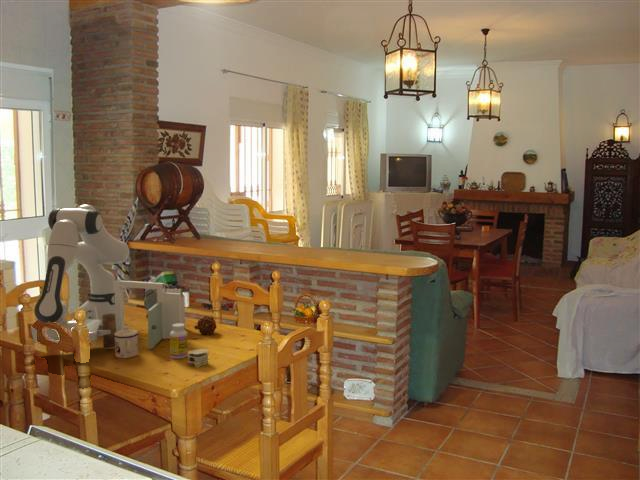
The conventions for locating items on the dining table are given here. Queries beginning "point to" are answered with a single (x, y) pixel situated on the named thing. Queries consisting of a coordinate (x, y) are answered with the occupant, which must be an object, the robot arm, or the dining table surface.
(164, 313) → the door frame
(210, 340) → the dining table surface
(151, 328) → the door
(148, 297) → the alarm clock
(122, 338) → the teacup with lid
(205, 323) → the pine cone
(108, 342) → the post
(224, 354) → the dining table surface
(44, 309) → the robot arm
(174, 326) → the supplement bottle
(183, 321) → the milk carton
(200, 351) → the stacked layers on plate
